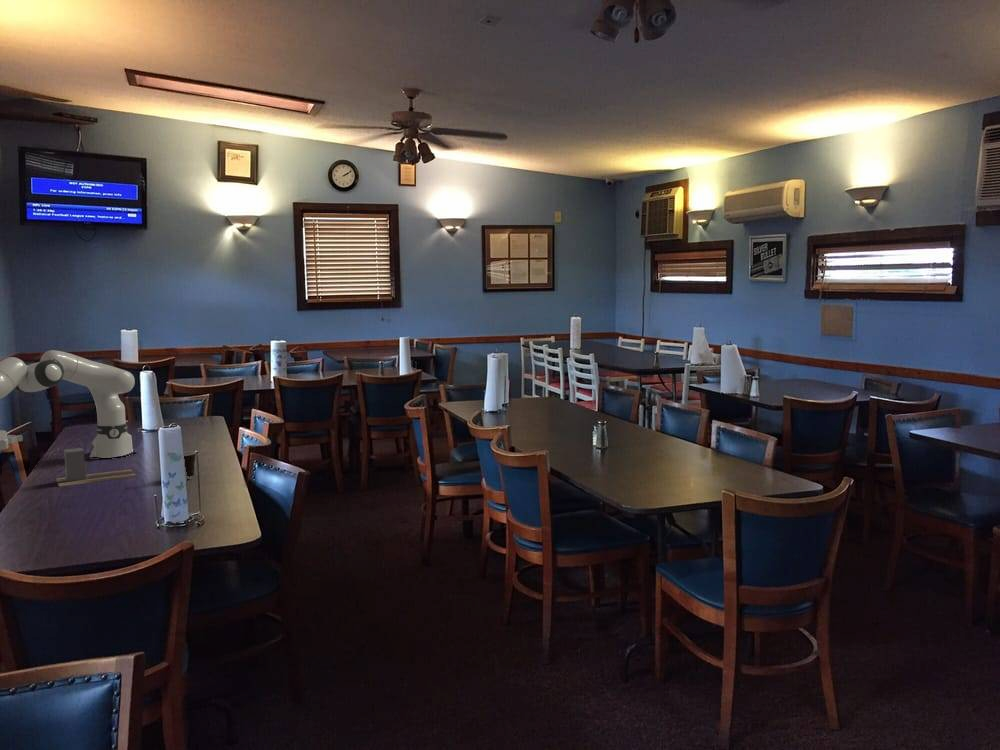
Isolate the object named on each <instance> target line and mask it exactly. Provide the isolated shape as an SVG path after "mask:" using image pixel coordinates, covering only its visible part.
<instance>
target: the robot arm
mask: <svg viewBox="0 0 1000 750" xmlns="http://www.w3.org/2000/svg"><path fill="white" fill-rule="evenodd" d="M61 381H67V382H70V383H74V384H76V385H80V386H84V387H87V388H88V390H89V391H90V393H91V396H92V398H93V401H94V404H95V407H96V418H97V419H96V420H97V425H96V428H95V429H96V434H97V435H96V436H95V437H94V439H93V440H92V441H91V447H92V450H91V452H90V454H89V458H90V457H100V458H111V457H117V456H123V455H126V454H129V453H131V452H133V450H134V449H133V440H132V439H133V437H132V434H130V433H128V424H127V422H126V419H127V418H126V406H125V403H123V401H122V400H121V398H120V397H119V395H122V394H126V393H129V392H131V391H132V390H133V388H134V387H135V384H136V383H135V382H136V381H135V377H134V375H133V374H132V373H131V372H130V371H127V370H125V369H122V368H119V367H116V366H113V365H108V364H105V363H101V362H99V361H98V362H97V361H93V360H91V359H87V358H85V357H82V356H79V355H76V354H73V353H70V352H66V351H61V350H56V349H55V350H53V349H51V350H47V351H45V352H44V353H43V354H42V355H41V357H40V360H39V361H38V362H34V363H33V362H32V363H29V364H26V363H25V362H24V361H23V360H22V359H19V358H18V357H14V356H11V357H10V356H8V357H6V358H3V359H2V360H0V400H1V399H3V398H4V397H6V396H8V395H9V394H10V393H11V392H12V391H13V390H15V391H17V392H18V393H22V394H31V393H37V392H41V391H43V390H46V389H50V388H53V387H55V386H57V385H59V384H60V383H61ZM7 433H8V432H7V430H1V429H0V451H1V450H2V451H3V450H4V451H5V450H8V449H9V444H13V443H17V442H23V441H24V438H23V435H22V434H18V435H16V434H7Z"/></svg>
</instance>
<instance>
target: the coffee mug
mask: <svg viewBox="0 0 1000 750" xmlns="http://www.w3.org/2000/svg"><path fill="white" fill-rule="evenodd" d="M183 451H184V459H185V467H186V472H187V476H189V477H190V476H193V475H194V476H195V468H196V454H197V453H196V451H192V450H191V451H190V450H189V451H188V450H186V451H185V450H183Z"/></svg>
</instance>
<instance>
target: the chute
mask: <svg viewBox="0 0 1000 750" xmlns="http://www.w3.org/2000/svg"><path fill="white" fill-rule="evenodd" d="M85 478H86V480H79V481H71V482H66V476H65V477H58V478H56V479H55V480H56V482H57V486H58V487H67V486H72V485H73V486H75V485H80V484H81V485H82V484H89V483H95V482H96V483H97V482H105V481H113V480H119V479H129V478H137V474H136V473H133V469H124V470H115V471H108V472H99V473H90V474H85Z"/></svg>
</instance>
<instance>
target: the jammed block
mask: <svg viewBox="0 0 1000 750" xmlns="http://www.w3.org/2000/svg"><path fill="white" fill-rule="evenodd" d="M84 451H85V450H84V448H83V447H77V448H67V449H66V448H65V449H63V455H64V458H63V459H64V469H65V470H64V471H65V477H66V481H65V482H71V481H79V480H87V478H85V475H86V467H85V466H86V465H85V464H86V463H85V452H84Z"/></svg>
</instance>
